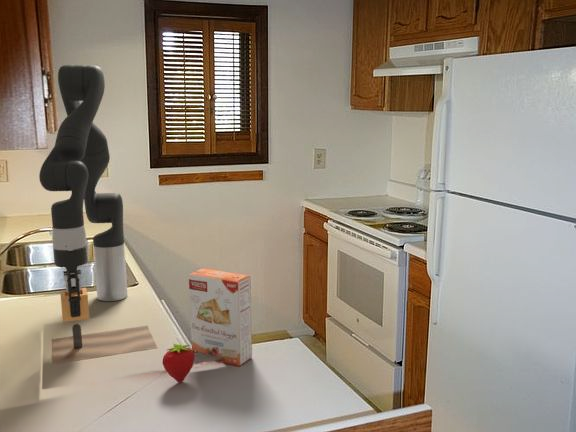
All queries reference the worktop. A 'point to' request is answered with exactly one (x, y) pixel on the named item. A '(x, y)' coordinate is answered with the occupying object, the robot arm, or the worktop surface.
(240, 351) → the cracker box
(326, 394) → the worktop surface
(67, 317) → the collar
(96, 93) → the robot arm
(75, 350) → the board
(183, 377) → the strawberry
